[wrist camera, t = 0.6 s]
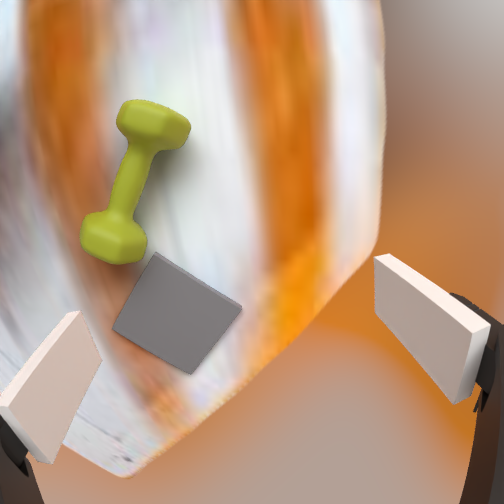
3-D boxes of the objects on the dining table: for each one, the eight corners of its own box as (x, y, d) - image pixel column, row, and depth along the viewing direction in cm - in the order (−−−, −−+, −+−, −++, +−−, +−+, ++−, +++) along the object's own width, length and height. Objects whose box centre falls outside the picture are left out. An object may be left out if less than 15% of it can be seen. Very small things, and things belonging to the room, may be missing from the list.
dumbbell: (147, 257, 35) (130, 279, 29) (89, 233, 34) (62, 249, 27) (200, 123, 32) (193, 113, 25) (137, 100, 30) (115, 87, 23)
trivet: (114, 325, 37) (111, 328, 36) (155, 251, 35) (153, 254, 34) (191, 370, 40) (190, 374, 39) (241, 305, 38) (241, 309, 37)
